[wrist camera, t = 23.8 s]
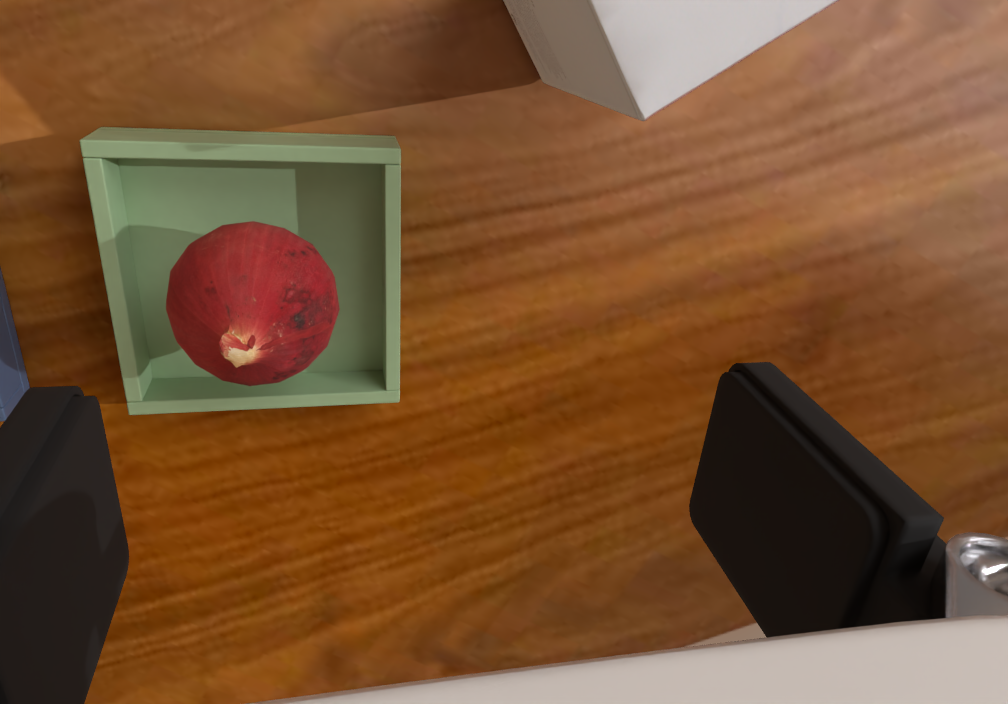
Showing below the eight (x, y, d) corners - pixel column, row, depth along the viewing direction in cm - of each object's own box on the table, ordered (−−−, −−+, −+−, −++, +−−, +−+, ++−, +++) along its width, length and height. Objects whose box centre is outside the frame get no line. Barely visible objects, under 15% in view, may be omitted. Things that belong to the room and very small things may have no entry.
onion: (324, 190, 29) (323, 256, 22) (347, 323, 31) (352, 420, 24) (168, 207, 28) (115, 282, 21) (206, 343, 31) (169, 449, 24)
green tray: (99, 126, 27) (78, 139, 24) (395, 135, 29) (401, 148, 27) (142, 384, 31) (128, 415, 29) (395, 374, 34) (399, 402, 31)
